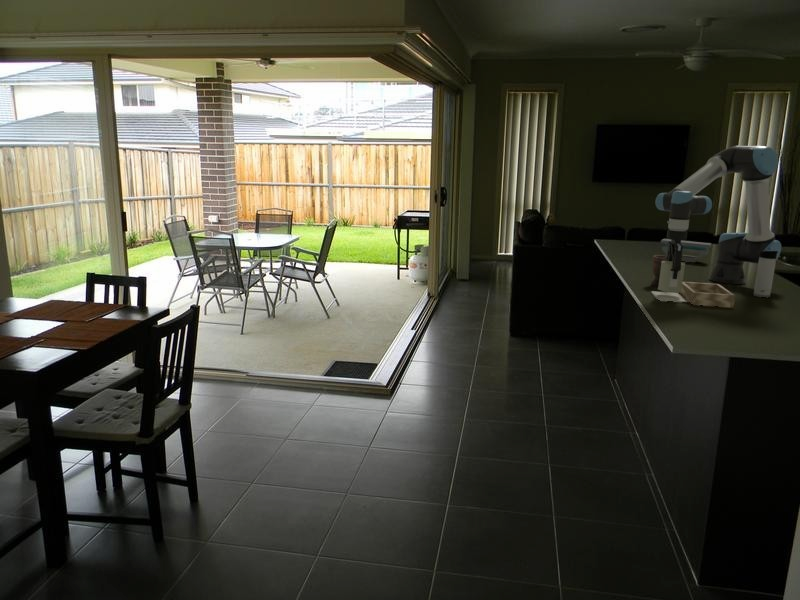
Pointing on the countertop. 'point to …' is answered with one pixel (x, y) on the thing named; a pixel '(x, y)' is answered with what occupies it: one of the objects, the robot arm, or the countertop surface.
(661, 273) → the can
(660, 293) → the mat
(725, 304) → the wooden frame
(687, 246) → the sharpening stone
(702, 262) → the countertop surface
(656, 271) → the mortar and pestle
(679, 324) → the countertop surface
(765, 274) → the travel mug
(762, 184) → the robot arm
